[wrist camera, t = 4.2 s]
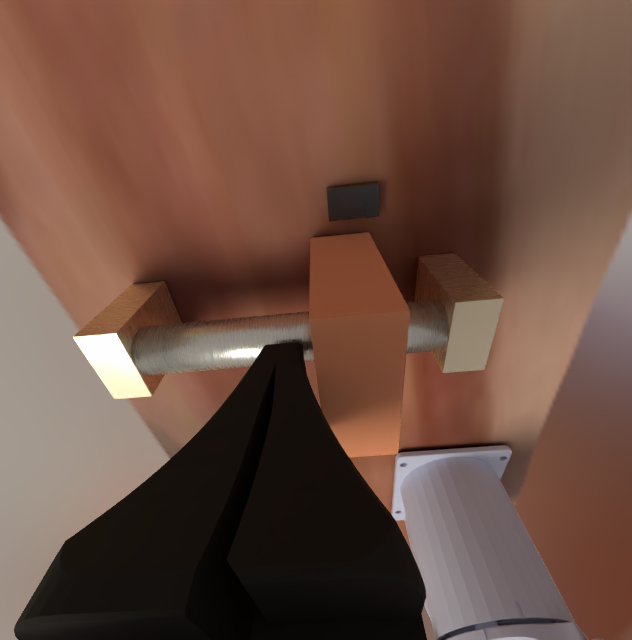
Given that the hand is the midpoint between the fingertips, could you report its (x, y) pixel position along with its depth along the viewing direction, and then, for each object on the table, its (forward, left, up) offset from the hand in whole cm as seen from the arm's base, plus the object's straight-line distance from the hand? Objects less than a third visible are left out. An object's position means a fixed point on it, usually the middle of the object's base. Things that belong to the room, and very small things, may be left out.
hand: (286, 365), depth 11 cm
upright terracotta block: (0, -2, -5) cm, 5 cm away
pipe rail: (0, 0, -5) cm, 5 cm away
